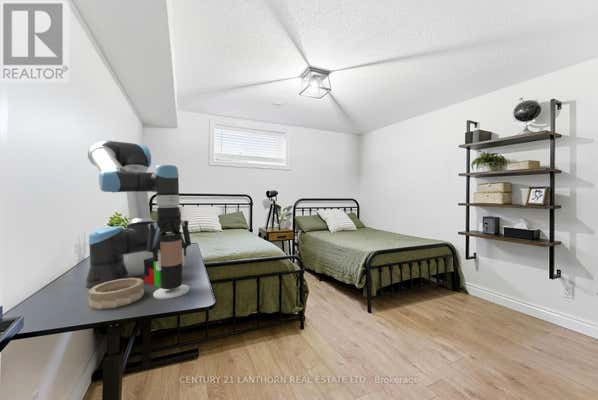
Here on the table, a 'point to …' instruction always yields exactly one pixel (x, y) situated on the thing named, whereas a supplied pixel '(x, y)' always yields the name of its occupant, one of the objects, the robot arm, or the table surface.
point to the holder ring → (116, 293)
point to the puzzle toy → (151, 272)
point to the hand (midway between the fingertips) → (170, 267)
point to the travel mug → (171, 260)
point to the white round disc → (170, 292)
